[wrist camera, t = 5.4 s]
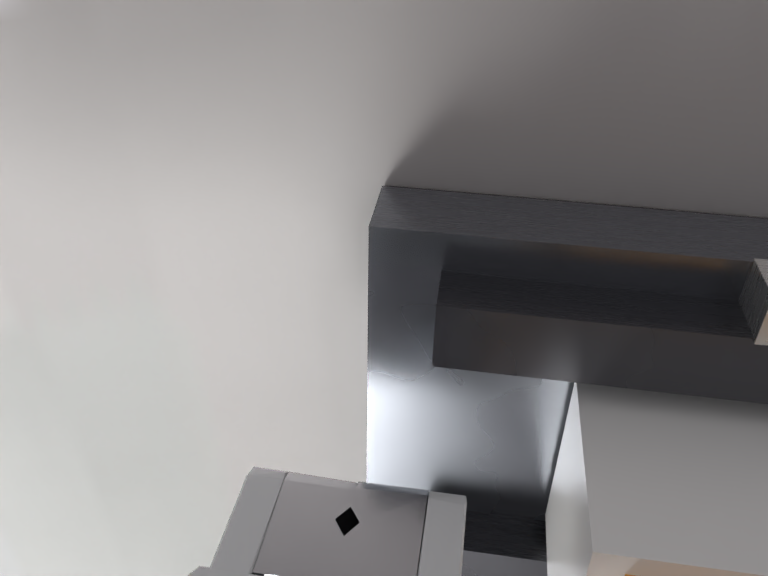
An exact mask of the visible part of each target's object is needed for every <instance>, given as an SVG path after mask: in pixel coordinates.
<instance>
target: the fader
mask: <svg viewBox="0 0 768 576" xmlns="http://www.w3.org/2000/svg"><path fill="white" fill-rule="evenodd" d="M545 522H546V549H547V576H768V404H762V403H753V402H744V401H735V400H726V399H717V398H708V397H699V396H690V395H682V394H673V393H664V392H655V391H646V390H637V389H628V388H619V387H610V386H601V385H593V384H584V383H575V382H574V387H573V391H572V396H571V401H570V405H569V410H568V414H567V419H566V423H565V428H564V432H563V437H562V441H561V446H560V450H559V455H558V459H557V464H556V468H555V473H554V477H553V482H552V486H551V491H550V495H549V500H548V505H547V509H546V514H545Z"/></svg>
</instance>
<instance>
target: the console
mask: <svg viewBox="0 0 768 576" xmlns="http://www.w3.org/2000/svg"><path fill="white" fill-rule="evenodd" d="M574 382H575V383H584V384H593V385H601V386H610V387H619V388H628V389H637V390H646V391H655V392H664V393H673V394H682V395H690V396H699V397H708V398H717V399H726V400H735V401H744V402H753V403H762V404H768V219H765V218H753V217H741V216H730V215H718V214H706V213H695V212H683V211H671V210H659V209H648V208H636V207H624V206H613V205H601V204H589V203H578V202H566V201H554V200H543V199H531V198H519V197H508V196H496V195H484V194H473V193H461V192H449V191H437V190H426V189H414V188H402V187H391V186H382V189H381V192H380V195H379V198H378V201H377V204H376V207H375V210H374V213H373V215H372V218H371V221H370V224H369V266H368V381H367V483H374V484H382V485H390V486H399V487H407V488H415V489H424V490H429V492H430V491H434V492H441V493H448V494H456V495H463V496H466V499H467V508H466V521H465V534H464V547H463V560H462V573H461V576H547V549H546V522H545V514H546V509H547V505H548V500H549V495H550V491H551V486H552V482H553V477H554V473H555V468H556V464H557V459H558V455H559V450H560V446H561V441H562V437H563V432H564V428H565V423H566V419H567V414H568V410H569V405H570V401H571V396H572V391H573V387H574ZM428 498H429V497H428Z"/></svg>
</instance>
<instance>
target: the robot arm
mask: <svg viewBox="0 0 768 576" xmlns="http://www.w3.org/2000/svg"><path fill="white" fill-rule="evenodd" d="M428 497H429V498H428ZM466 508H467V499H466V496H463V495H456V494H448V493H441V492H434V491H430V492H429V490H424V489H415V488H407V487H399V486H390V485H382V484H374V483H366V482H358V483H355V482H349V481H343V480H337V479H330V478H324V477H318V476H312V475H306V474H299V473H293V472H286V471H279V470H272V469H265V468H259V467H253V469H252V470H251V471H250V472H249V474H248V475H247V476H246V479H245V481H244V484H243V486H242V489H241V491H240V494H239V496H238V499H237V501H236V504H235V506H234V509H233V511H232V514H231V516H230V519H229V521H228V524H227V526H226V529H225V531H224V534H223V536H222V539H221V541H220V544H219V546H218V549H217V551H216V554H215V556H214V558H213V561H212V563H211V566H210V567H202V566H199V567H198V568H196V569H195V570H194V571H193V572H191V573H190V574H189V575H188V576H461V573H462V560H463V547H464V534H465V521H466Z"/></svg>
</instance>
